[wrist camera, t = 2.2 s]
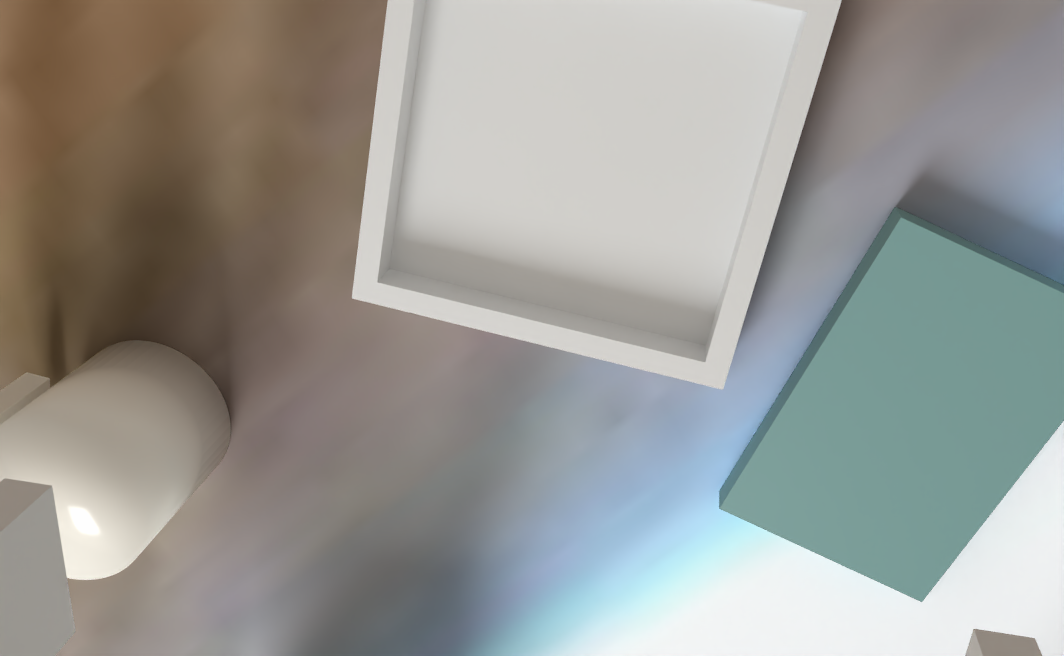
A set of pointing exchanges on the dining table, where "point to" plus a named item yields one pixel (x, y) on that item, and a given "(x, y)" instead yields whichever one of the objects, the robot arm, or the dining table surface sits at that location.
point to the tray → (586, 168)
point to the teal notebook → (909, 408)
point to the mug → (115, 447)
